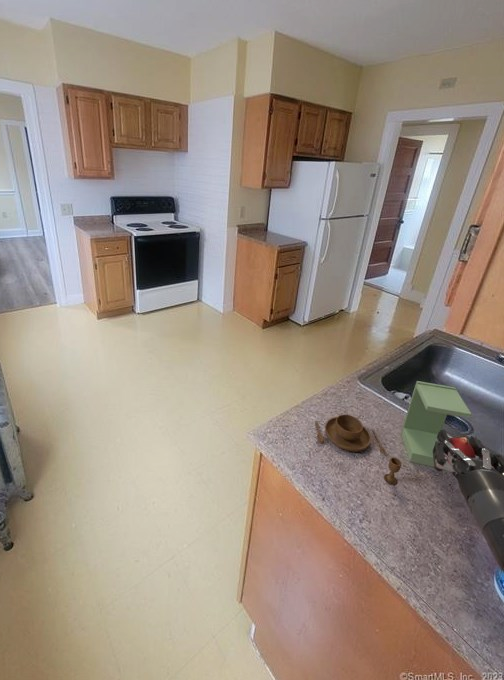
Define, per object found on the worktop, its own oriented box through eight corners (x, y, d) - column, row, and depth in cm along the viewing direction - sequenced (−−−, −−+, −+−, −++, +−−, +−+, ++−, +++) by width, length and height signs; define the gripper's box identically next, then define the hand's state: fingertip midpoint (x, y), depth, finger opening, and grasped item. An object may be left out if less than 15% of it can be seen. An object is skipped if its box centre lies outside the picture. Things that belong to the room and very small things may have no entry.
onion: (435, 466, 69) (445, 438, 66) (439, 451, 73) (449, 423, 71) (468, 483, 66) (480, 453, 63) (470, 465, 70) (482, 437, 67)
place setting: (372, 424, 94) (376, 408, 92) (401, 485, 76) (407, 467, 74) (311, 418, 96) (314, 402, 93) (325, 477, 77) (329, 459, 75)
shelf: (449, 470, 80) (472, 413, 73) (409, 461, 82) (428, 405, 76) (436, 440, 89) (455, 387, 82) (400, 433, 91) (416, 380, 84)
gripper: (555, 504, 51) (500, 429, 67) (453, 480, 55) (424, 415, 70) (537, 535, 54) (488, 456, 69) (441, 510, 58) (415, 441, 73)
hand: (456, 436), depth 70 cm, fingers closed on onion, 5 cm apart
